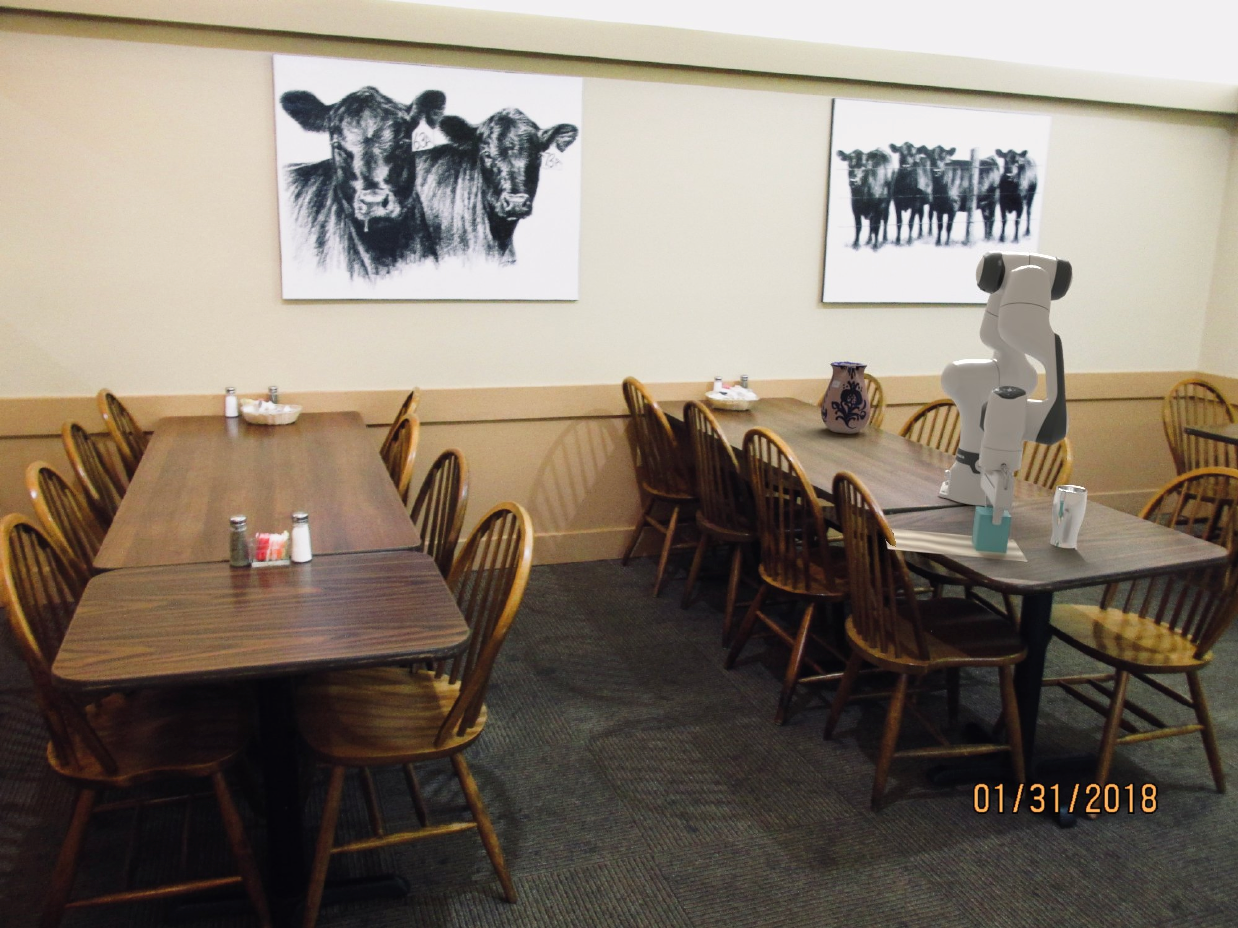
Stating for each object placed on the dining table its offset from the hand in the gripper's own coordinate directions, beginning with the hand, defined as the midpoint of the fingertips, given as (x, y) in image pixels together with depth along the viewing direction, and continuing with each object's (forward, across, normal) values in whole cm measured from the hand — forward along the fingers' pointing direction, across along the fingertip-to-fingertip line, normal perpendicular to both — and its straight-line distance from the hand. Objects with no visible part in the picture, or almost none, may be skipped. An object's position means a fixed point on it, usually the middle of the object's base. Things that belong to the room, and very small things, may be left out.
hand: (992, 517), depth 218 cm
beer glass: (+9, +8, -18) cm, 22 cm away
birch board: (+9, 0, +8) cm, 12 cm away
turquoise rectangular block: (+7, 0, 0) cm, 7 cm away
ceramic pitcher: (+9, +132, +30) cm, 136 cm away
